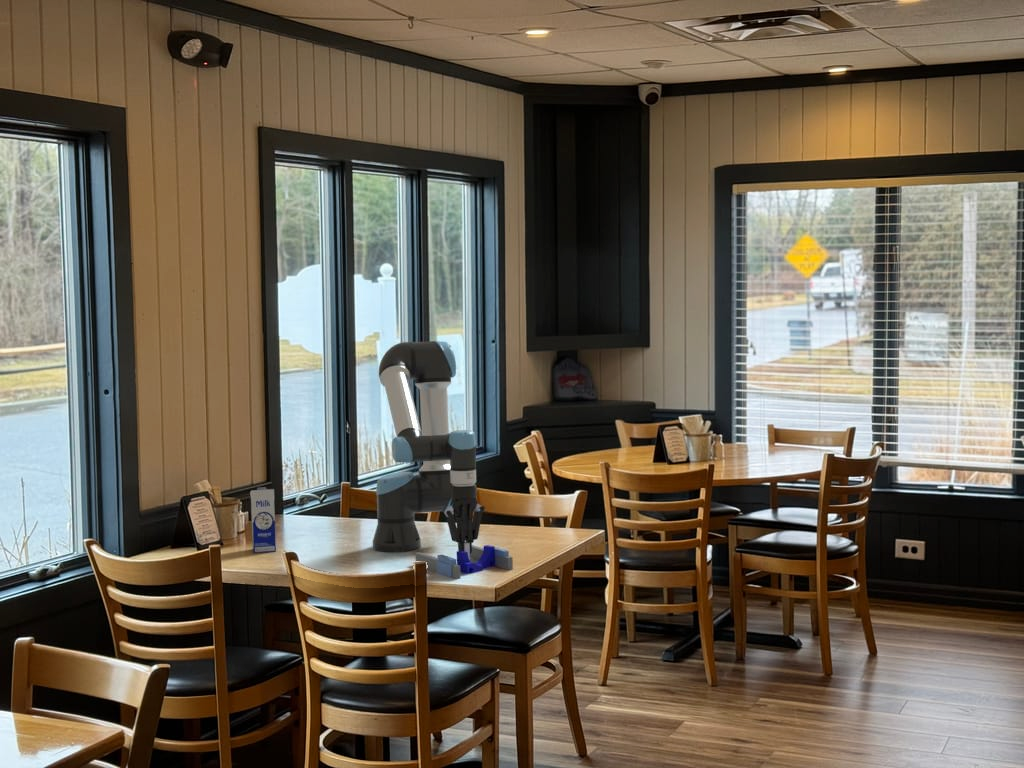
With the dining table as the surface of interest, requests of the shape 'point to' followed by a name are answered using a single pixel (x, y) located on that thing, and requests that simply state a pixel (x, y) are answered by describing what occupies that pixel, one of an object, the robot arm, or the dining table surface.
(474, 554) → the blue grey block group
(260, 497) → the milk carton
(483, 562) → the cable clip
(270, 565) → the dining table surface
